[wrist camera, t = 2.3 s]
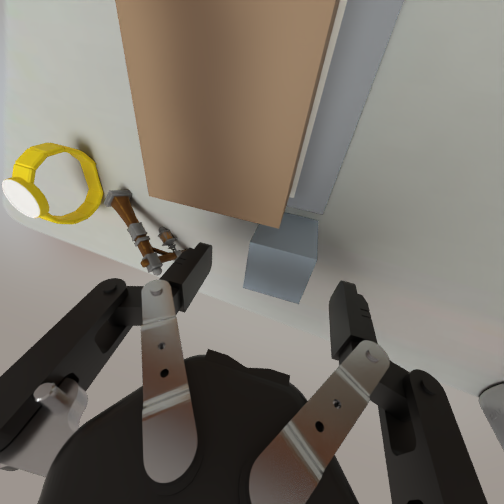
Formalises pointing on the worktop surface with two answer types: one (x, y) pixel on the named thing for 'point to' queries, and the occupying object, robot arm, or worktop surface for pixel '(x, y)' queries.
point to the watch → (34, 201)
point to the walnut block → (224, 97)
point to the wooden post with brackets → (142, 232)
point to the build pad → (341, 96)
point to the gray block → (282, 258)
